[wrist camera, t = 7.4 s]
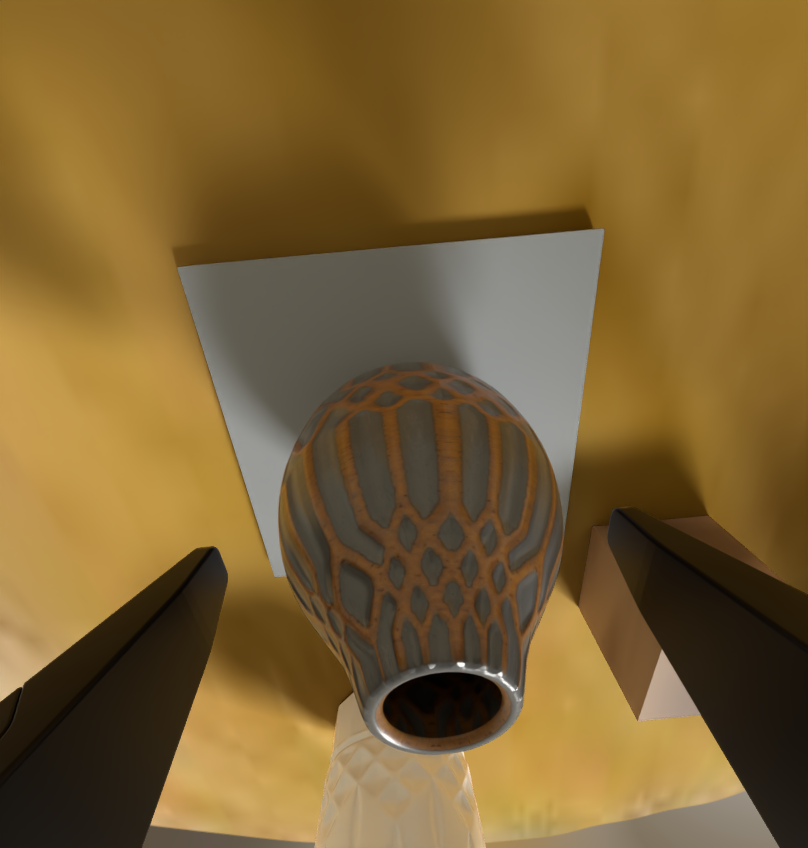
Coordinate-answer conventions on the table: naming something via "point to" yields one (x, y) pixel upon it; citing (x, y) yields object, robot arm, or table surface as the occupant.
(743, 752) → the robot arm
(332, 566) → the vase
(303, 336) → the grey mat
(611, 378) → the table surface
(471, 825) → the white cup
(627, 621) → the letter cube
